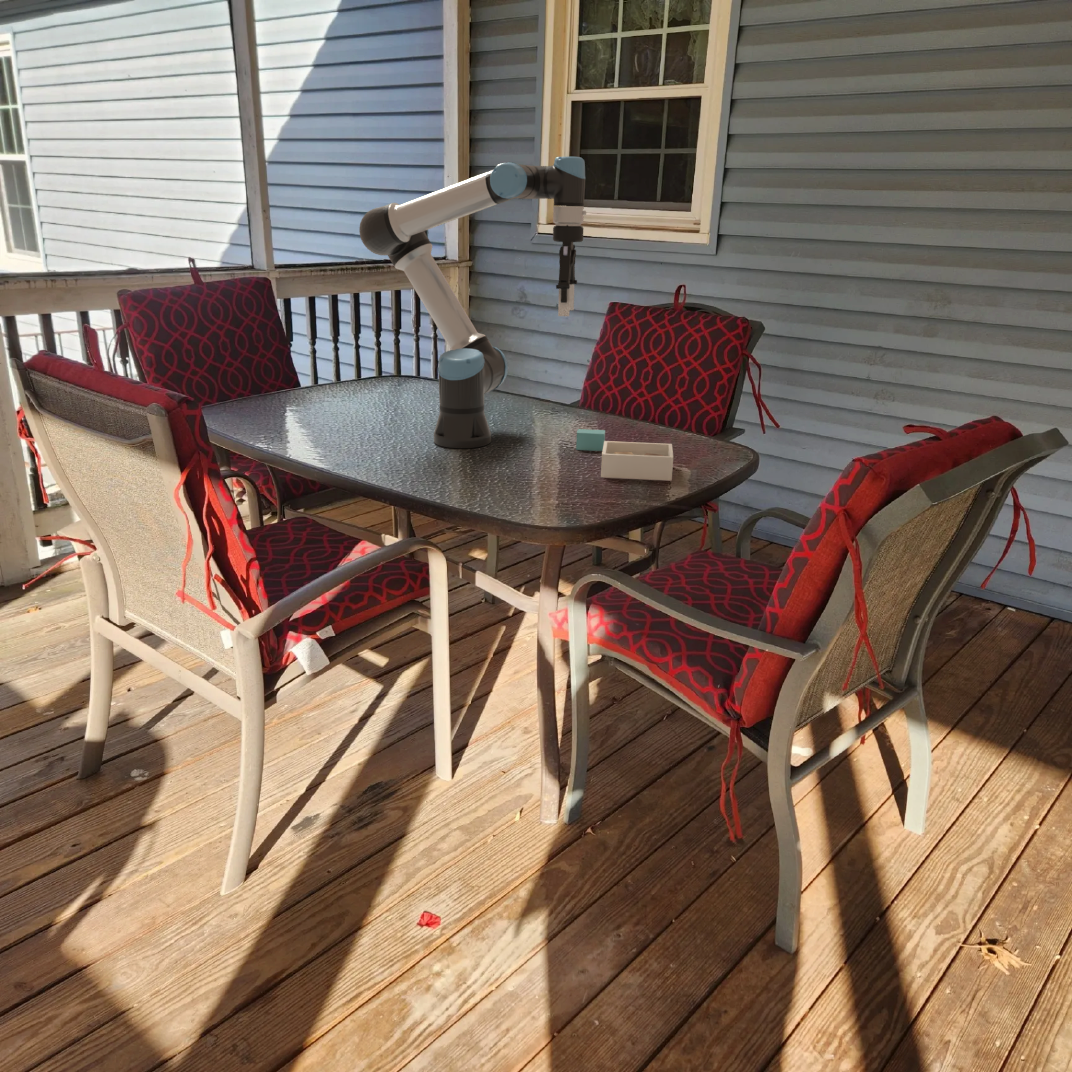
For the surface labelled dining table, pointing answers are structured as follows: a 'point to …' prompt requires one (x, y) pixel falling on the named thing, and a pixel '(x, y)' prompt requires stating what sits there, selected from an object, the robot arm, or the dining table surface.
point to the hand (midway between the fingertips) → (566, 313)
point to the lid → (590, 439)
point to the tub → (637, 461)
